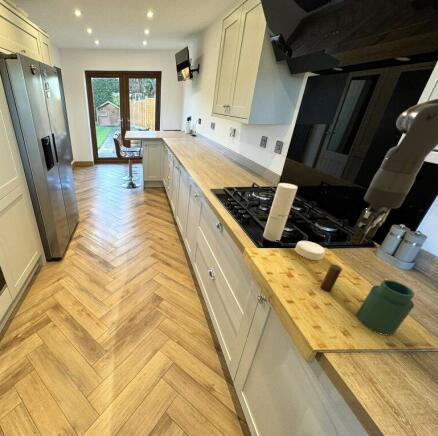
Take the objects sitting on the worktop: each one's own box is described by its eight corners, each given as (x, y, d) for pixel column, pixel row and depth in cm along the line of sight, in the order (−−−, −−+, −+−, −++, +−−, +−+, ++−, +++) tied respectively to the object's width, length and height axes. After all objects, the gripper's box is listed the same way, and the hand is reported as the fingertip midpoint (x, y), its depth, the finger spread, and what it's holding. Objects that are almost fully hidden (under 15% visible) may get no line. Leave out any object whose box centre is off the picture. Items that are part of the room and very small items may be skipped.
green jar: (384, 315, 69) (407, 281, 63) (401, 339, 62) (429, 303, 56) (351, 308, 71) (371, 274, 66) (364, 329, 64) (387, 294, 59)
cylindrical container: (281, 242, 105) (299, 189, 94) (263, 239, 107) (279, 186, 96) (278, 235, 111) (295, 184, 100) (262, 232, 113) (277, 182, 102)
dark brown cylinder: (329, 287, 79) (339, 265, 76) (332, 293, 77) (343, 271, 73) (319, 284, 80) (329, 263, 76) (321, 290, 78) (332, 269, 74)
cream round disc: (328, 261, 93) (331, 254, 91) (303, 260, 93) (306, 253, 91) (312, 247, 102) (315, 240, 100) (290, 246, 102) (292, 239, 100)
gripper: (398, 195, 56) (367, 252, 63) (417, 187, 63) (387, 239, 70) (360, 186, 62) (336, 239, 69) (381, 180, 68) (357, 228, 76)
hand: (361, 239), depth 69 cm, fingers open, 8 cm apart
